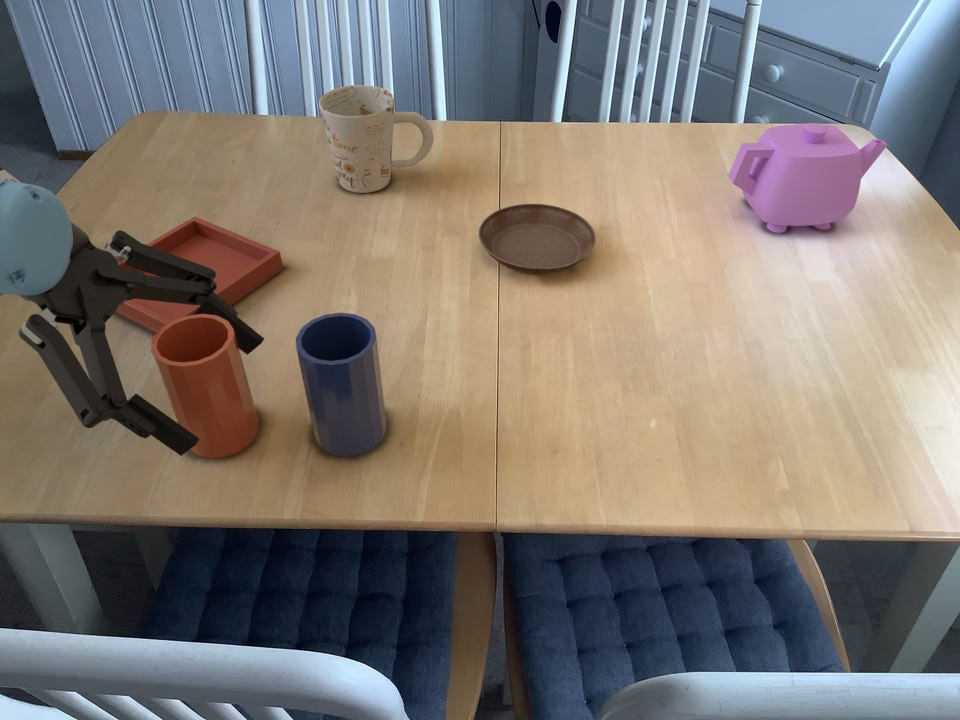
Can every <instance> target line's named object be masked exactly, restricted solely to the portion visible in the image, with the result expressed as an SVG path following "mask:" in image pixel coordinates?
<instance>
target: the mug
mask: <svg viewBox="0 0 960 720" xmlns="http://www.w3.org/2000/svg"><path fill="white" fill-rule="evenodd" d="M318 108H319V112H320V116H321V119H322V123H323V127H324V130H325V135H326V138H327V141H328V145H329V148H330V152H331V156H332V160H333V164H334V167H335V170H336V174H337V177H338V181H339V185H340V186H341V187H342V188H343V189H345V190H347V191H348V192H352V193H357V194H368V193H373V192H377V191H380V190H382V189H384V188H385V187H387V186H388V185H389V183H390V181H391V175H392V168H397V169H398V168H399V169H400V168H410V167H414V166H416V165H418V164H419V163H420V162H422V161H423V160H424V159H425V158H427V156H428V155H429V153H430V151H431V149H432V148H433V145H434V139H435V138H434V131H433V128H432V126H431V124H430V123H429V121H428V120H427V119H426V118H425V117H424V116H423V115H421V114H420V113H418V112H415V111H395V98H394V95H393V94H392V93H391V92H390V91H388V90H387V89H385V88H382V87H379V86H375V85H368V84H354V85H345V86H341V87H336V88H334V89H330V91H327V92H325V93H324V94H323V95H322V96H321V97H320V98H319V102H318ZM406 123H411V124H413V125H415V126H416V127H417V128H418V129H419V131H420V133H421V135H422V142H421V145H420V148H419V150H418V151H417V152H416V153H415V155H414V156H412V157H411V158H408V159H396V160H395V159H394V160H392V159H393V158H392V156H393V141H394V140H393V139H394V125H395V124H406Z"/></svg>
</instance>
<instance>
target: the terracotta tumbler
mask: <svg viewBox="0 0 960 720" xmlns="http://www.w3.org/2000/svg"><path fill="white" fill-rule="evenodd" d="M150 352H151V355H152V357H153V360H154V363H155V365H156V368H157V370H158V373H159V376H160V378H161V381H162V384H163V386H164V387H163V388H164V389H165V392H166V395H167V397H168V400H169V402H170V405H171V408H172V410H173V414H174V416H175V419H176V422H177V423H178V424H180V425H181V426H182V427H184V428H185V429H187V430H188V431H189V432H191V433H192V434H194V435H195V436H196V437H198V438H199V441H198V442H197V444H196V445H195V446H194V447H192V448H191V449H190V450H189V451H191V452H192V453H194V454H195V455H197V456H200V457H202V458H206V459H207V458H208V459H220V458H225V457H229V456H232V455H234V454H237V453H239V452H241V451H242V450H244V449H246V448H247V447H248V446H250V444H251V443H252V442H253V441H255V438H256V437H257V434H258V432H259V427H260V425H259V420H258V418H259V417H258V413H257V410H256V405H255V402H254V398H253V395H252V392H251V391H252V390H251V387H250V384H249V381H248V377H247V373H246V370H245V366H244V365H245V364H244V362H243V358H242V354H241V350H240V349H239V347H238V343H237V340H236V336H235V333H234V329H233V327H232V326H231V325H230V323H229V322H228V321H227V320H225V319H223V318H221V317H219V316H216V315H209V314H197V315H189V316H185V317H182V318H179V319H177V320H174V321H172V322H170V323H169V324H167V325H166V326H164V327H163V328H161V329H160V330H159V331H158V332H157V333H155V335H154V336H153V338H152V339H151V344H150Z"/></svg>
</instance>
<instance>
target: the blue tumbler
mask: <svg viewBox="0 0 960 720" xmlns="http://www.w3.org/2000/svg"><path fill="white" fill-rule="evenodd" d="M295 347H296V349H295V350H296V354H297V358H298V363H299V368H300V373H301V378H302V382H303V387H304V392H305V396H306V401H307V407H308V411H309V416H310V420H311V426H312V431H313V435H314V439H315V441H316V443H317V445H318V446H319V447H320V448H321V449H322V450H324V452H327V453H328V454H330V455H334V456H338V457H355V456H360V455H364V454H366V453H368V452H370V451H372V450H373V449H375V448H376V447H377V446H378V445H380V444H381V442H382V441H383V439H384V438H385V435H386V432H387V418H386V417H387V416H386V408H385V400H384V392H383V382H382V374H381V366H380V365H381V364H380V355H379V347H378V338H377V333H376V328H375V326H374V325H373V324H372V323H371V322H370V321H369V319H367V318H365V317H362V316H360V315H358V314H356V313H348V312H334V313H327V314H323V315H320V316H317V317H316V318H312V319H311V320H309V322H307V323H306V324H304V325H303V326H302V327H300V329H299V331H298V333H297V335H296V336H295Z"/></svg>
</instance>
